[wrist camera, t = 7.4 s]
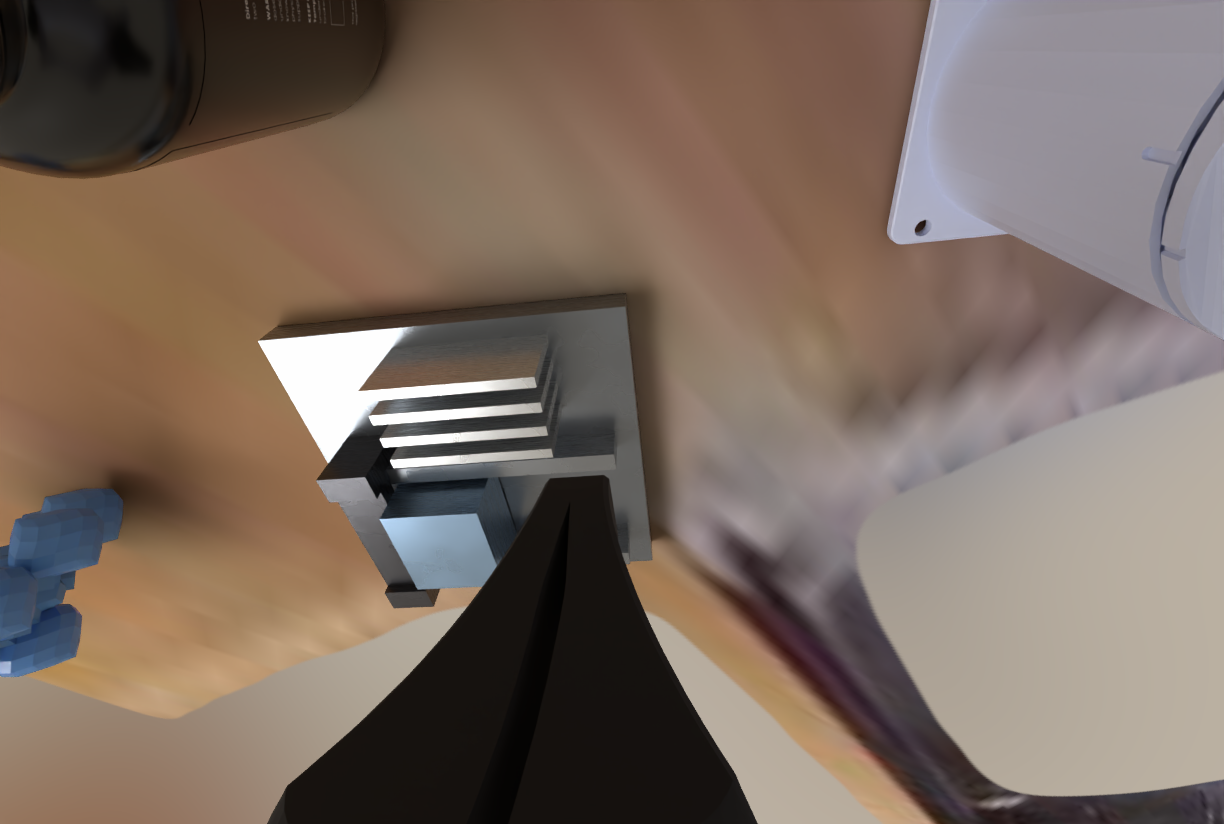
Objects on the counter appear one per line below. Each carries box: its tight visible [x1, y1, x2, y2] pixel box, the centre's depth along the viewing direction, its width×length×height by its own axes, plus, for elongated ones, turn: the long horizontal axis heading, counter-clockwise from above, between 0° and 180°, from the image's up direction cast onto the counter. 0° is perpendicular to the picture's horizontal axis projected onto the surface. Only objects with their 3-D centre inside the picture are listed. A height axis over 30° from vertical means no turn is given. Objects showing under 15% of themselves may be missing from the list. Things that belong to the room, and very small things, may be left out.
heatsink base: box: [258, 293, 652, 608], centre depth 22 cm, size 14×14×4 cm
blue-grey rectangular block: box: [380, 477, 516, 589], centre depth 23 cm, size 7×5×3 cm, turn 96°
